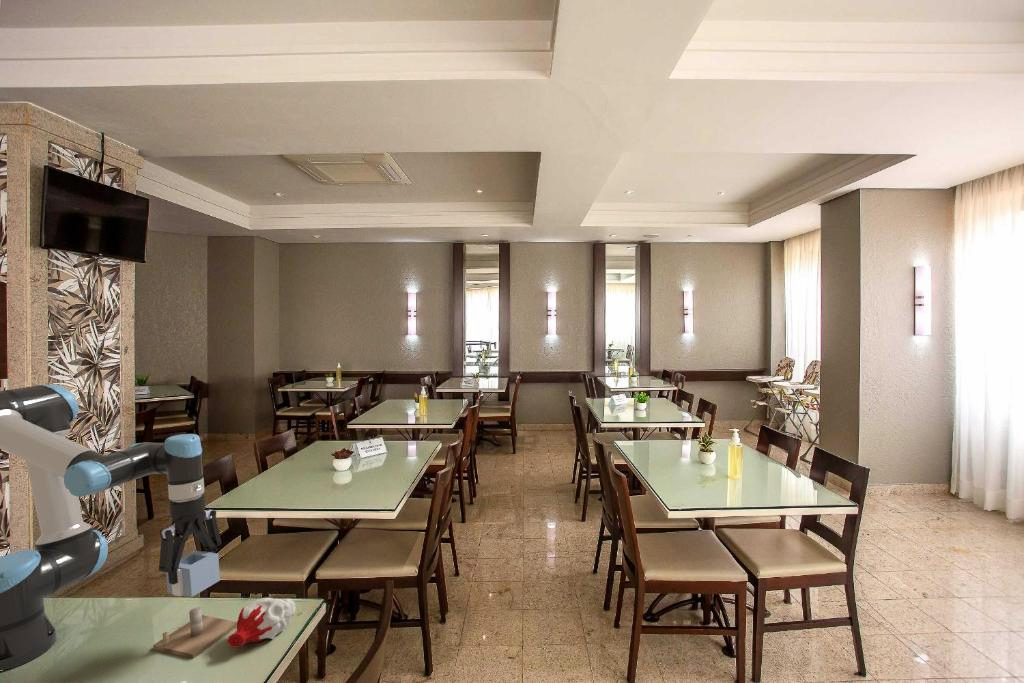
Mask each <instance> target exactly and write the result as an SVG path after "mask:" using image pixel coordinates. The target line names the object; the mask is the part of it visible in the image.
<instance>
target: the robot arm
mask: <svg viewBox="0 0 1024 683" xmlns="http://www.w3.org/2000/svg"><path fill="white" fill-rule="evenodd" d="M79 410H80V409H79V403H78V400H77V399H76V397H75V395H74V394H73V393H72V392H71V391H70V390H69V389H67V388H66V387H65V386H63V385H59V384H41V385H40V384H39V385H38V384H37V385H33V386H26V387H25V386H24V387H20V388H11V389H5V390H0V450H2V451H4V452H7V453H9V454H12V455H14V456H15V457H17V458H20V459H22V460H24V461H25V464H26V469H27V473H28V478H29V482H30V486H31V492H32V496H33V501H34V506H35V509H36V516H37V519H38V524H39V529H40V536H39V537H38V538H37V540H36V541H35V542H34V543H35V549H24V550H19V551H16V552H14V553H9V554H6V555H3V556H0V670H5V669H8V670H10V669H9V668H11V669H14V668H16V667H20V666H22V665H24V664H26V663H28V662H30V661H32V660H34V659H36V658H39V657H40V656H42V655H43V654H45V653H46V652H47V651H48V649H49V648H50V649H51V648H52V647H53V646H54V645H55V644H56V642H57V639H56V638H57V631H56V627H54V624H53V623H52V622H51V621H52V620H50V618H49V616H47V614H46V611H45V599H46V598H47V597H49V596H51V595H53V594H55V593H57V592H59V591H62V590H63V589H65V588H67V587H70V586H71V585H73V584H75V583H77V582H80V581H83V580H85V579H86V578H88V577H89V576H91V575H93V574H95V573H96V572H98V571H99V570H100V569H101V568H102V567H103V565H104V564H105V562H106V561H107V557H108V552H109V547H108V546H109V545H108V542H107V538H106V537H105V536H103V533H101V531H99V530H96V529H93V526H92V524H89V523H87V522H85V521H84V519H83V516H82V515H83V514H82V509H81V506H80V501H79V498H81V497H82V498H83V497H86V496H91V495H96V494H99V493H101V492H104V491H107V490H109V489H112V488H114V487H117V486H120V485H123V484H125V483H128V482H132V481H135V480H137V479H140V478H143V477H146V476H148V475H149V476H150V475H167V476H166V478H167V490H168V499H169V501H170V502H169V504H168V505H169V513H170V514H169V515H170V517H171V518H172V520H171V524H170V526H168V528H167V527H166V528H165V529H164V528H163V529H161V530H159V536H160V539H161V540H160V552H159V565H158V571H159V572H163V573H166V572H168V578H169V583H170V584H172V596H176V597H177V596H178V597H182V595H184V593H183V581H182V569H179V568H178V567H179V564H180V560H181V557H183V552H184V549H185V545H186V542H187V541H188V540H189V537H190V536H191V535H193V534H195V535H196V536H197V538H198V541H199V542H200V543H201V546H202V547H203V549H204V550H205V551H203V552H209V553H216V552H217V551H218V550H219V546H221V545H222V543H223V542H222V538H221V534H220V529H219V526H218V522H217V510H214V509H206V508H207V505H206V503H207V502H206V495H205V494H204V493H205V481H204V480H205V478H204V467H203V448H202V444H201V437H200V436H199V435H198V434H195V433H187V434H186V433H185V434H184V433H183V434H176V435H171V436H169V437H166V439H165V440H164V443H162V442H161V443H160V442H148V441H146V442H139V443H137V442H136V443H133V444H131V445H129V446H128V447H127V448H126V449H125V450H122V451H117V452H114V453H110V454H103V453H100V452H99V451H98V452H97V451H95V450H93V449H92V448H88V447H86V446H84V445H82V444H80V443H77V442H75V441H73V440H71V439H68V438H66V437H67V436H68V434H69V433H70V432H71V431H72V428H71V423H73V422H74V421H75V420H76V419H77V417H78V415H77V414H79ZM205 509H206V510H205ZM204 522H205V524H204ZM54 643H55V644H54ZM53 644H54V645H53ZM52 645H53V646H52ZM51 646H52V647H51ZM50 649H49V650H50ZM5 671H6V670H5Z"/></svg>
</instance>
